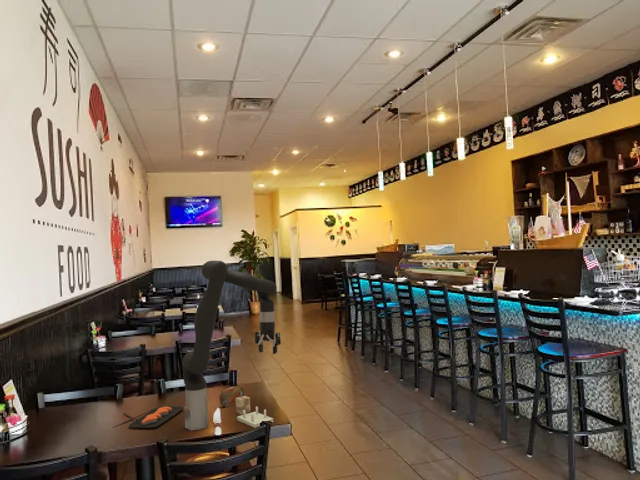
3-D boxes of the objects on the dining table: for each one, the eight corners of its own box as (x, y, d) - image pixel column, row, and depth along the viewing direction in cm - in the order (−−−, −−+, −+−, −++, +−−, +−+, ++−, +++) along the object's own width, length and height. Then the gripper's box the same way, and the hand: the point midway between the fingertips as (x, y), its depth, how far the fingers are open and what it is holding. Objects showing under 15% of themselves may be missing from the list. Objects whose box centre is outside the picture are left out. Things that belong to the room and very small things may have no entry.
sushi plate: (155, 431, 222) (155, 422, 222) (95, 429, 228) (95, 421, 228) (185, 410, 250) (185, 402, 250) (131, 409, 256) (131, 401, 256)
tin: (222, 408, 249) (222, 391, 249) (218, 407, 250) (217, 391, 251) (244, 400, 260) (243, 384, 261) (240, 399, 262) (239, 383, 263)
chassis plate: (254, 427, 219) (254, 416, 219) (236, 420, 230) (236, 409, 231) (273, 422, 225) (273, 410, 226) (255, 414, 237) (254, 404, 237)
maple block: (241, 414, 238) (240, 400, 238) (236, 412, 242) (235, 398, 242) (250, 412, 241) (249, 397, 241) (244, 410, 245) (244, 395, 245)
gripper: (251, 320, 252) (252, 353, 251) (274, 322, 245) (275, 355, 244) (260, 319, 258) (261, 350, 258) (283, 320, 251) (283, 352, 250)
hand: (267, 353), depth 251 cm, fingers open, 8 cm apart
